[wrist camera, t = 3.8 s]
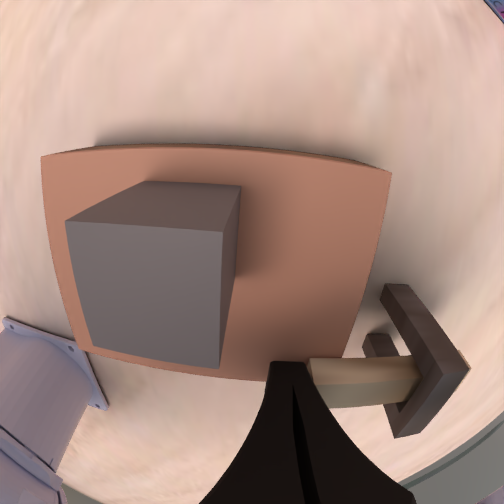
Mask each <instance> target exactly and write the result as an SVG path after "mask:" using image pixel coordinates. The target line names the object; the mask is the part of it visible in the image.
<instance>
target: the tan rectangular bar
mask: <svg viewBox="0 0 504 504" xmlns="http://www.w3.org/2000/svg"><path fill="white" fill-rule="evenodd" d="M457 351H458V352H459V354H460V355H461V357H462V358H463V360H464V361H465V363H466V364H467V366H468V367H469V369H470V370H471V367H470V365H469V364H468V362H467V361H466V359H465V358H464V356H463V355H462V353H461V352H460V350H457ZM307 369H308V371H309V374H310V376H311V378H312V380H313V382H314V384H315V386H316V388H317V389H318V391H319V393H320V395H321V397H322V398H323V400H324V402H325V403H326V405H327V407H328V408H347V407H360V406H371V405H380V404H388V403H396V402H403V401H409V400H410V398H411V397H412V395H413V394H414V392H415V391H416V389H417V388H418V386H419V385H420V383H421V382H422V380H423V379H424V377H423V375H422V374H421V372H420V370H419V368H418V366H417V364H416V362H415V360H414V358H413V356H412V355H408V356H394V357H374V358H309V362H308V365H307ZM470 370H469V371H470ZM469 371H468V373H469ZM468 373H467V374H468ZM467 374H466V376H467ZM466 376H465V377H466ZM465 377H464V379H465ZM464 379H463V380H464ZM463 380H462V381H461V383H462V382H463ZM461 383H460V384H461ZM460 384H459V386H460ZM459 386H458V387H459ZM458 387H457V388H456V390H457V389H458ZM456 390H455V391H456Z"/></svg>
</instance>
